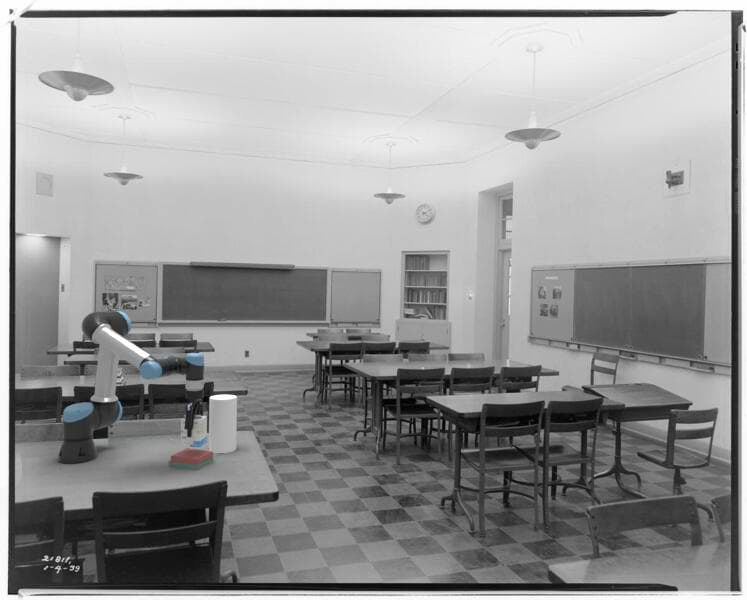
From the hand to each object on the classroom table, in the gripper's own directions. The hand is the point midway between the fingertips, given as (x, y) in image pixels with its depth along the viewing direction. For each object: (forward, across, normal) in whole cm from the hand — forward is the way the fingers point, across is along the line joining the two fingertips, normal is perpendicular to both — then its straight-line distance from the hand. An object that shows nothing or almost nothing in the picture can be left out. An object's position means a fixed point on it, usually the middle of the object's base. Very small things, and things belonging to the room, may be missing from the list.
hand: (194, 441), depth 240 cm
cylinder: (+10, +21, -6) cm, 24 cm away
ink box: (+2, 0, 0) cm, 2 cm away
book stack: (+10, -1, +1) cm, 10 cm away
